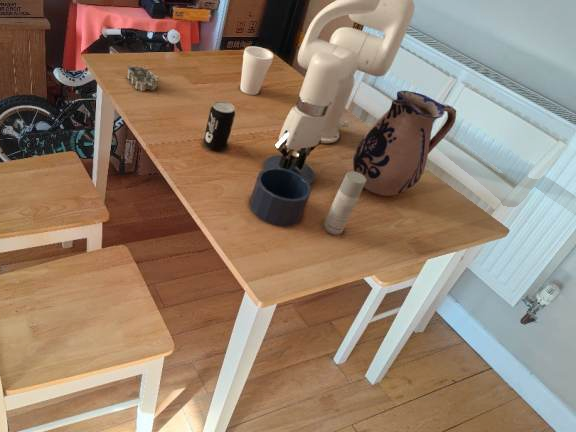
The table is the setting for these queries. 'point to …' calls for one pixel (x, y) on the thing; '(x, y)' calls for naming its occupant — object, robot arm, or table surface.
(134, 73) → the egg carton
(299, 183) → the tin
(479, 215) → the table surface
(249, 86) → the foam cup
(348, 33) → the robot arm
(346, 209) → the container
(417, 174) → the ceramic pitcher
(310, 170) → the lid
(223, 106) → the beverage can
